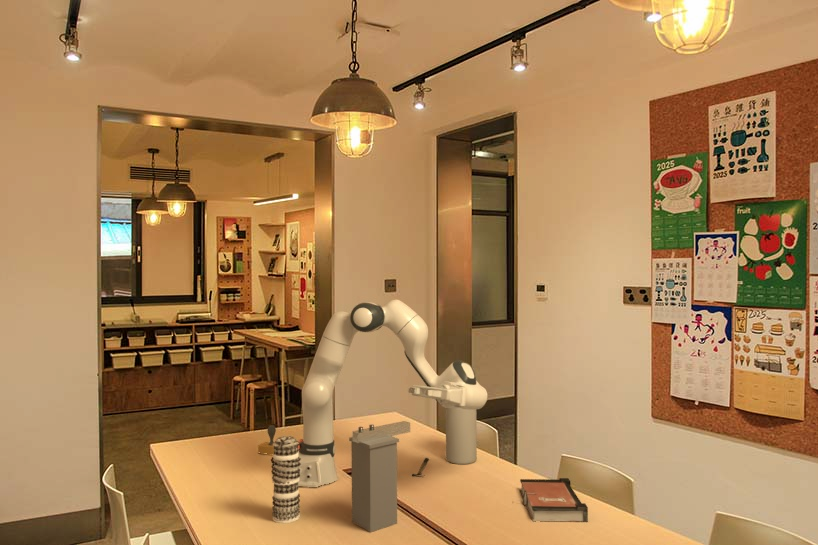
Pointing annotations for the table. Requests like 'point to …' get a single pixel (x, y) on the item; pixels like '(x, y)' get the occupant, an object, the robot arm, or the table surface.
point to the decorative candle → (285, 480)
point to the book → (552, 501)
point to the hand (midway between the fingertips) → (417, 391)
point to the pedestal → (374, 483)
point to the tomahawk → (421, 468)
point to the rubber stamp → (268, 446)
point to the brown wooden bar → (380, 431)
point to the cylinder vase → (461, 436)
